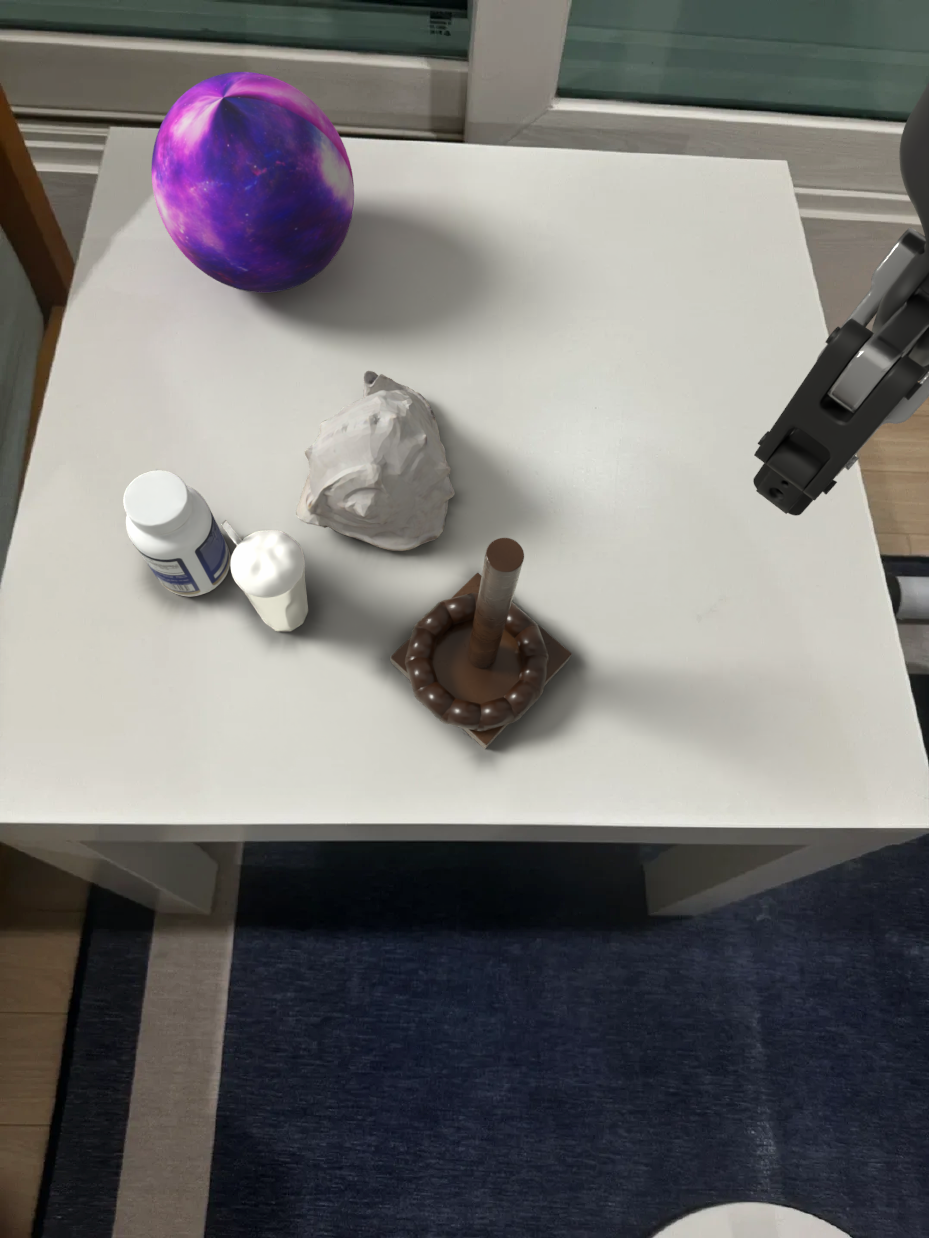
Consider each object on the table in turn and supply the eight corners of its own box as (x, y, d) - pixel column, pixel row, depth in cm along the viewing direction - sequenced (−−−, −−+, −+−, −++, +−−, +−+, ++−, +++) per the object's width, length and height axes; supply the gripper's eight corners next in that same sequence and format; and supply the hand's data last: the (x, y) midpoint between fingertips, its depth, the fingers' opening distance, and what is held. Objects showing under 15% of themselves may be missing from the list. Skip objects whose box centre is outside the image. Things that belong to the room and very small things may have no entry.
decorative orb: (181, 198, 74) (129, 23, 60) (354, 193, 76) (341, 22, 62) (178, 336, 69) (119, 180, 55) (364, 329, 70) (352, 174, 56)
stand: (476, 578, 63) (498, 449, 47) (569, 659, 61) (625, 553, 45) (390, 662, 60) (382, 555, 44) (484, 749, 58) (512, 670, 42)
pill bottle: (210, 518, 63) (176, 445, 54) (244, 575, 62) (215, 509, 53) (142, 553, 62) (96, 484, 53) (176, 611, 60) (134, 550, 51)
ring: (472, 575, 61) (473, 564, 60) (573, 662, 59) (578, 653, 58) (377, 666, 58) (376, 658, 57) (481, 761, 56) (483, 755, 55)
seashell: (422, 388, 69) (424, 299, 59) (473, 538, 64) (483, 467, 55) (272, 420, 67) (249, 333, 57) (312, 577, 62) (295, 510, 53)
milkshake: (272, 564, 62) (247, 495, 53) (330, 605, 61) (315, 542, 52) (230, 610, 61) (197, 548, 51) (289, 653, 60) (266, 597, 50)
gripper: (1178, 290, 16) (815, 609, 31) (1450, -53, 20) (1012, 377, 35) (846, 86, 18) (655, 483, 33) (1159, -193, 22) (860, 275, 37)
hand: (840, 428), depth 34 cm, fingers open, 8 cm apart
